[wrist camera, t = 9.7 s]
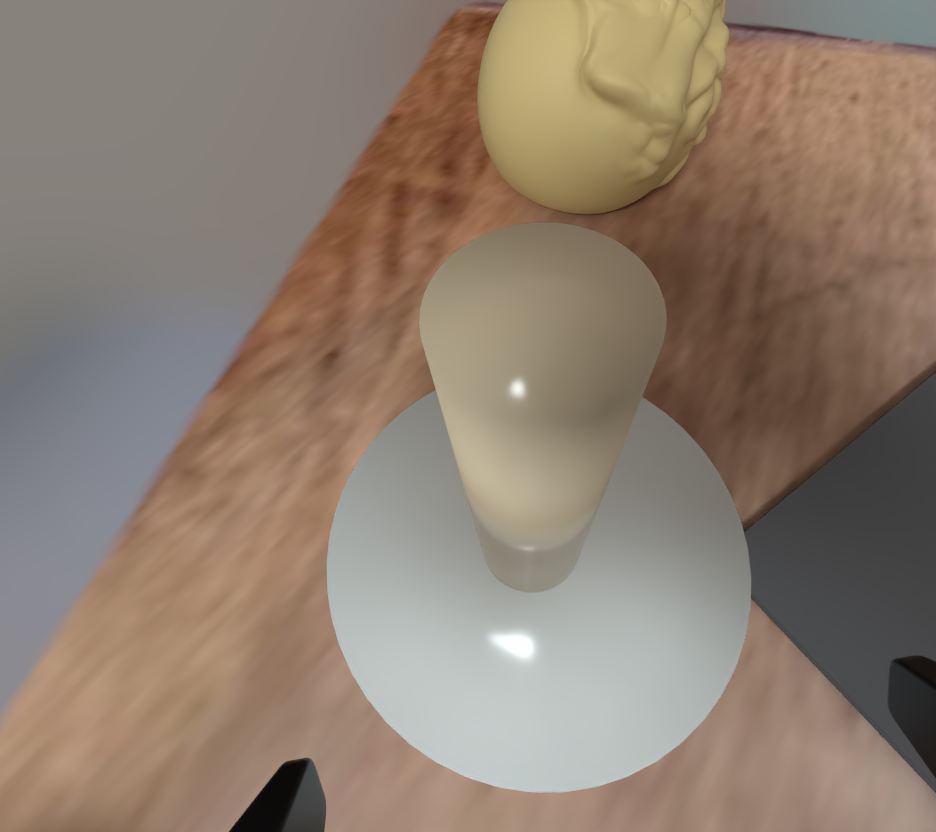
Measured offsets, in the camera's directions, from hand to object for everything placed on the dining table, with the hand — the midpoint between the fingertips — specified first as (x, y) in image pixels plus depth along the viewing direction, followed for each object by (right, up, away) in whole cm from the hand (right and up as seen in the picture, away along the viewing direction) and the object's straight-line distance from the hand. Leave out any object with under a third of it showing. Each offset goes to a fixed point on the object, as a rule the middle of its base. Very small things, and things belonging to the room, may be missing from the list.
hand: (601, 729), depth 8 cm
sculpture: (+5, +19, +24) cm, 31 cm away
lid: (0, 0, +10) cm, 10 cm away
